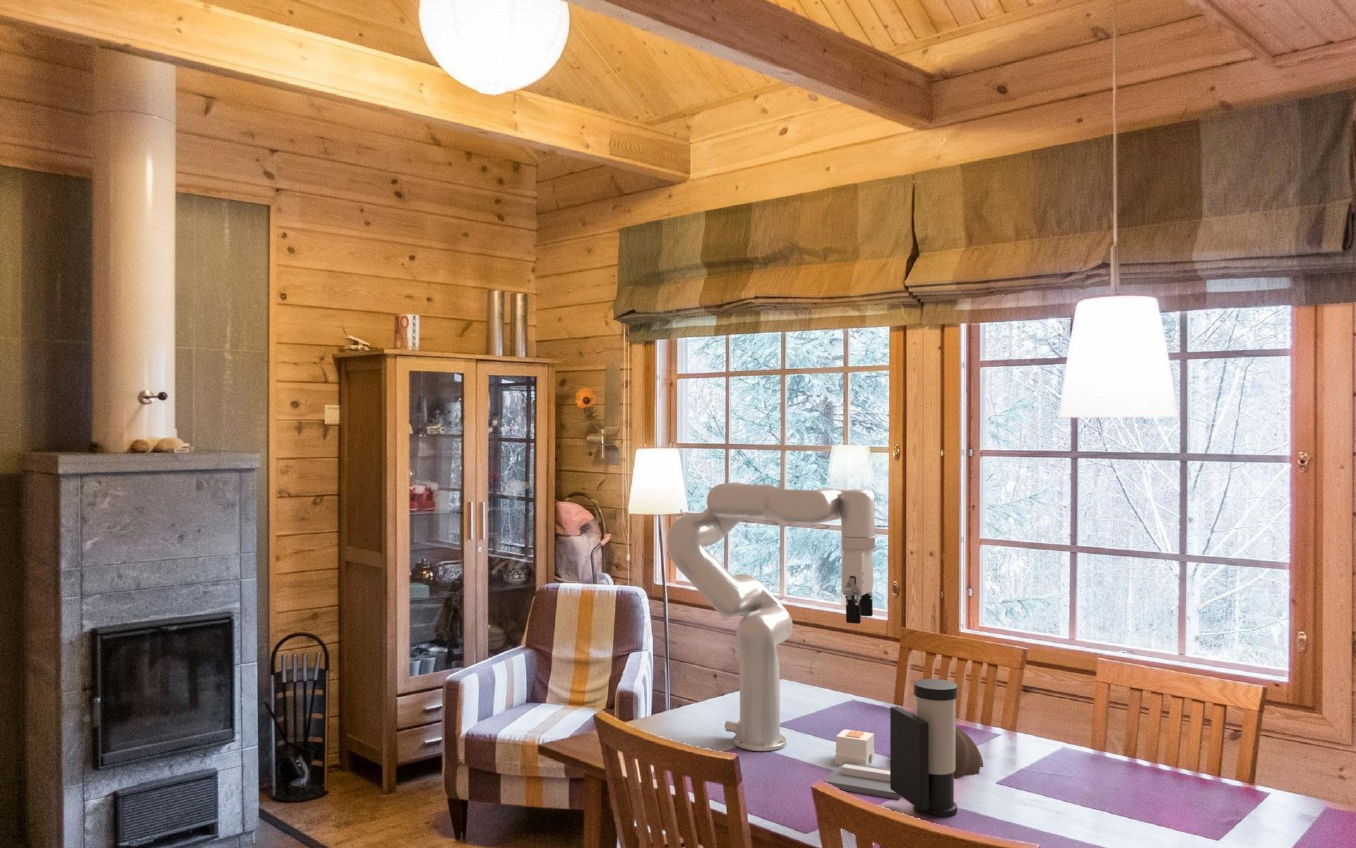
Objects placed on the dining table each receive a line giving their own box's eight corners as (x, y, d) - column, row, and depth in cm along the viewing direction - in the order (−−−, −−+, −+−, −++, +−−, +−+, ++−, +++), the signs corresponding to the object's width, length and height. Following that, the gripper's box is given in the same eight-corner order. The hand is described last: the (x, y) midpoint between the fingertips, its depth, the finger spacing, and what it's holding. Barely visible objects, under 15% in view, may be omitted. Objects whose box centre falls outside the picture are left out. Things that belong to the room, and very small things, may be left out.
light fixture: (971, 818, 195) (971, 690, 195) (920, 824, 192) (920, 694, 192) (938, 797, 206) (938, 675, 206) (889, 802, 203) (889, 679, 203)
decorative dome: (988, 782, 216) (988, 735, 216) (893, 775, 220) (893, 729, 220) (980, 754, 234) (980, 711, 235) (892, 748, 239) (892, 706, 239)
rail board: (823, 786, 212) (824, 773, 212) (844, 767, 224) (844, 754, 224) (899, 799, 205) (899, 786, 205) (916, 778, 217) (916, 765, 217)
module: (835, 763, 227) (835, 736, 227) (844, 754, 233) (844, 727, 233) (865, 768, 224) (865, 740, 224) (874, 759, 230) (874, 732, 230)
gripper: (853, 540, 239) (854, 612, 239) (830, 547, 224) (832, 625, 224) (884, 541, 236) (885, 614, 236) (863, 548, 221) (865, 627, 220)
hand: (859, 619), depth 230 cm, fingers open, 9 cm apart
